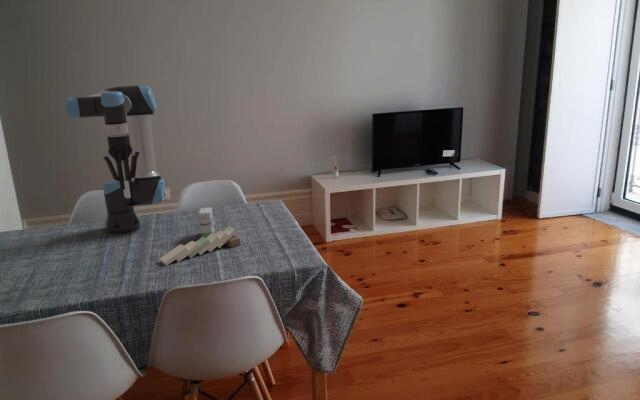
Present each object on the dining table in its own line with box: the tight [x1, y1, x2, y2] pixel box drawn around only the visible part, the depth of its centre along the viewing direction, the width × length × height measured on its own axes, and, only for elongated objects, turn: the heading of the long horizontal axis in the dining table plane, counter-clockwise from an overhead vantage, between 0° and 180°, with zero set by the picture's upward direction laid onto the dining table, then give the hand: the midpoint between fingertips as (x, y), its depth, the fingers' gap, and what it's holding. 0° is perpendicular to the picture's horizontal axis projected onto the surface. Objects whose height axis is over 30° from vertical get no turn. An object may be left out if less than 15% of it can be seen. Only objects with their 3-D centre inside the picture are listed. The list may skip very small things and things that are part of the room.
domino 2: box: [174, 240, 199, 263], centre depth 199 cm, size 2×5×10 cm
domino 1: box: [159, 243, 188, 266], centre depth 196 cm, size 2×5×10 cm
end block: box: [224, 234, 241, 249], centre depth 211 cm, size 9×4×3 cm, turn 40°
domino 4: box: [197, 233, 219, 256], centre depth 204 cm, size 2×5×10 cm
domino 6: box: [216, 226, 238, 249], centre depth 209 cm, size 2×5×10 cm
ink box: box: [198, 207, 215, 238], centre depth 220 cm, size 9×5×12 cm, turn 5°
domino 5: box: [206, 229, 228, 253], centre depth 206 cm, size 2×5×10 cm
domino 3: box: [187, 237, 210, 259], centre depth 202 cm, size 2×5×10 cm
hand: (127, 197), depth 189 cm, fingers closed
